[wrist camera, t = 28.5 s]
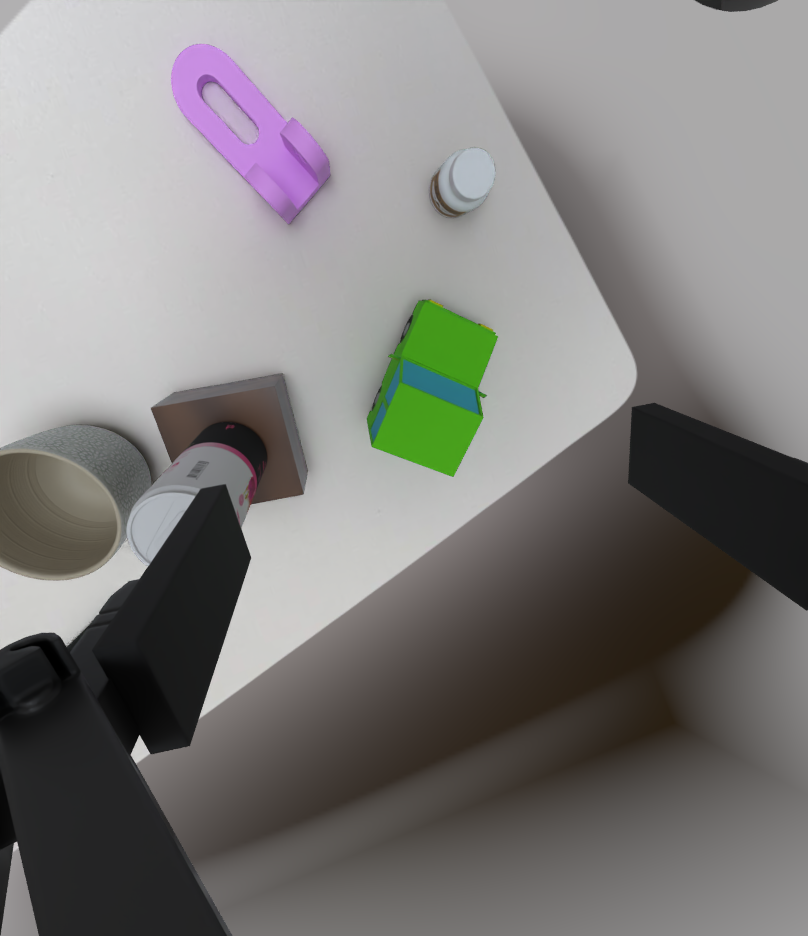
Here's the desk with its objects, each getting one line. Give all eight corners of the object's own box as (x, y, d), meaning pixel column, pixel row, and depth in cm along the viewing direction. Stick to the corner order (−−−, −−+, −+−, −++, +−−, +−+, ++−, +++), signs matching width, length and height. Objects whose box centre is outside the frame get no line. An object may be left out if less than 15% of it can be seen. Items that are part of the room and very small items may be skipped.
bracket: (330, 175, 40) (328, 155, 34) (288, 224, 41) (279, 214, 35) (206, 33, 36) (176, -21, 29) (162, 92, 37) (125, 53, 30)
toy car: (495, 332, 47) (532, 345, 38) (441, 444, 51) (463, 480, 42) (407, 290, 45) (424, 293, 36) (357, 412, 49) (360, 442, 40)
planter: (21, 491, 47) (-65, 547, 37) (58, 388, 44) (-25, 420, 34) (142, 538, 51) (93, 600, 41) (184, 446, 48) (143, 490, 38)
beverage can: (282, 450, 43) (254, 529, 29) (240, 498, 44) (195, 596, 31) (222, 405, 41) (161, 469, 27) (180, 457, 42) (102, 544, 28)
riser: (282, 373, 46) (274, 386, 41) (307, 471, 51) (303, 494, 45) (173, 392, 46) (150, 407, 40) (208, 489, 50) (191, 515, 44)
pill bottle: (418, 189, 42) (434, 170, 35) (454, 151, 41) (478, 124, 34) (449, 229, 43) (470, 219, 36) (484, 194, 42) (513, 176, 35)
